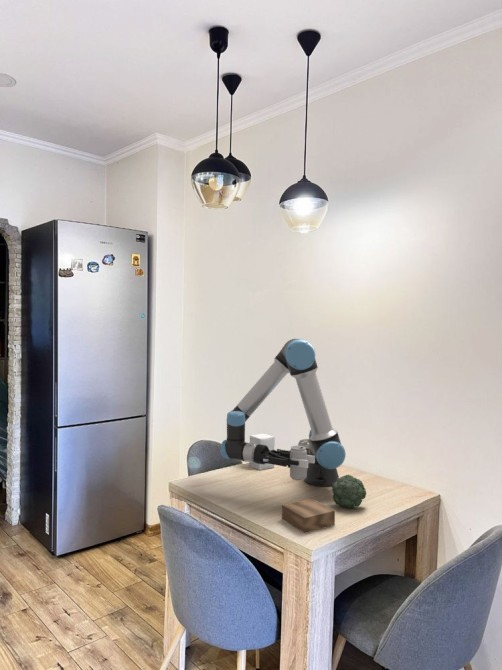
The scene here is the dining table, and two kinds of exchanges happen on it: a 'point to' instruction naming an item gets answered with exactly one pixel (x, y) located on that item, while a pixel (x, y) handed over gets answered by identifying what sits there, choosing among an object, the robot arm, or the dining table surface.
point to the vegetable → (348, 491)
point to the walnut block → (308, 515)
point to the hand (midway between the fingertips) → (311, 461)
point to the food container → (304, 444)
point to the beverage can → (295, 471)
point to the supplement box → (263, 440)
